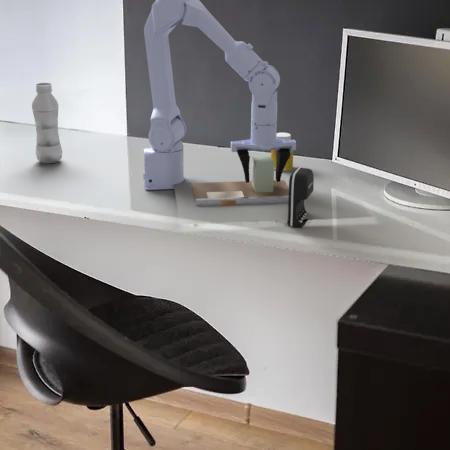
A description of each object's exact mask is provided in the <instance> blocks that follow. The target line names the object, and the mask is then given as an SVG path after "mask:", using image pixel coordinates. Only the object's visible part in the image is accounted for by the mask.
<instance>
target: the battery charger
mask: <svg viewBox="0 0 450 450" xmlns="http://www.w3.org/2000/svg"><path fill="white" fill-rule="evenodd" d="M288 179H289V180H288V187H289V198H288V203H287V205H288V206H287V209H288V210H287V212H288V213H287V226H288V227H292V228H293V227H295V228H296V227H297V228H301V227H303V226H304V225H305V224H306V223H307V221H309V218H305V217H306V216H305V215H307V214H308V212H307V211H306V207H305V200H307V199H308V198H309V197H310V196H311V195H312V193H313V191H314V188H315V187H314V182H315V181H314V172H313V170H312V169H311V168H307V167H301V166H297V167H295V168H294V170H292V172H291V173H290V175H289V178H288Z"/></svg>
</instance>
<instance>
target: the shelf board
mask: <svg viewBox="0 0 450 450" xmlns="http://www.w3.org/2000/svg"><path fill="white" fill-rule="evenodd" d="M190 187H191V190H192V193H193V194H192V195H193V198H194V199H193V200H194V203H195V206H197V207H198V206H199V207H200V206H203V207H204V206H205V207H206V206H236V205H258V204H260V205H261V204H283V203H284V204H285V203H286V204H288V198H289V185H288V184H287V182H286V180H285V179H280V182H277V180H276V179H275V180H274V183H273V192H258V193H256V192H255V190H254V188H253V186H252V180H249V183H246V181H245V180H244V181H240V180H239V181H214V182H191V183H190Z"/></svg>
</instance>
